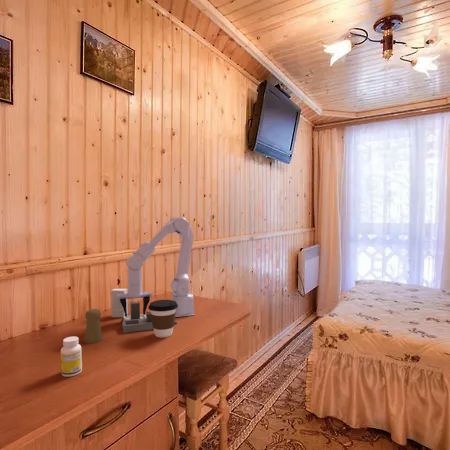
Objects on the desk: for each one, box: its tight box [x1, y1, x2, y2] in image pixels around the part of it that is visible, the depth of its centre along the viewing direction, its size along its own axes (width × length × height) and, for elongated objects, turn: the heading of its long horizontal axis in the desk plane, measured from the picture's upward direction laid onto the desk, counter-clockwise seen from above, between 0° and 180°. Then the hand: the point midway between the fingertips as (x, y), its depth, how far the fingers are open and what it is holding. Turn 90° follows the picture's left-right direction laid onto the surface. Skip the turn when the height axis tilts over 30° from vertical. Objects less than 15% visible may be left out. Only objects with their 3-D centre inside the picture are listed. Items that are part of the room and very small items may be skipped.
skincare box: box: [110, 288, 129, 318], centre depth 145 cm, size 6×4×12 cm
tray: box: [123, 313, 146, 321], centre depth 139 cm, size 9×7×1 cm
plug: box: [129, 301, 141, 320], centre depth 139 cm, size 4×4×7 cm
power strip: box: [122, 311, 178, 334], centre depth 131 cm, size 22×7×6 cm, turn 110°
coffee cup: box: [147, 299, 178, 339], centre depth 122 cm, size 11×11×12 cm
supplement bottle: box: [60, 336, 83, 378], centre depth 93 cm, size 5×5×10 cm
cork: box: [83, 308, 103, 344], centre depth 117 cm, size 6×6×11 cm
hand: (135, 315), depth 139 cm, fingers open, 7 cm apart
